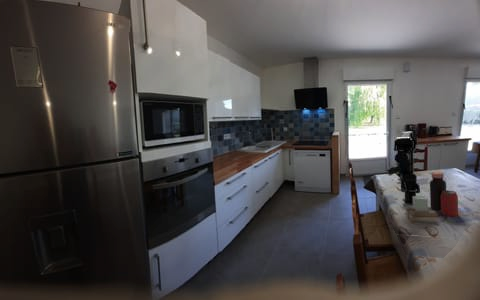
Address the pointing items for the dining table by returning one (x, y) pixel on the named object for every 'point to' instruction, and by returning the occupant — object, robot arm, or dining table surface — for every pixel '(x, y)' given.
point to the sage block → (420, 203)
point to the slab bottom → (421, 218)
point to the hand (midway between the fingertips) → (405, 188)
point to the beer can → (449, 203)
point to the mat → (421, 222)
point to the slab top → (421, 212)
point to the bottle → (436, 190)
